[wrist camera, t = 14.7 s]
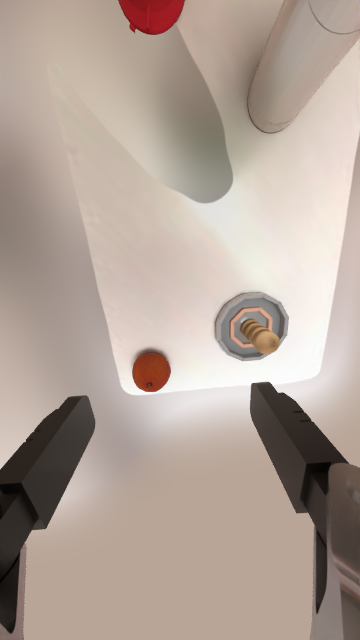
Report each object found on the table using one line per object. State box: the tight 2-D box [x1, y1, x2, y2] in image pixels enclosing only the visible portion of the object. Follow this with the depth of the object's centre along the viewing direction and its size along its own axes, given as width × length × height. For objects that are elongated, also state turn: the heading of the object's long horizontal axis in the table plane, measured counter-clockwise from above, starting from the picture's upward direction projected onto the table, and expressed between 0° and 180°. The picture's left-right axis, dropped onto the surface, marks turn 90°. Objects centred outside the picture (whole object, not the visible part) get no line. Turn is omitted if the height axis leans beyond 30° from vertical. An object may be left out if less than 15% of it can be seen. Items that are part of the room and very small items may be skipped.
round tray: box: [216, 293, 289, 361], centre depth 41 cm, size 16×16×2 cm
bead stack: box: [240, 319, 280, 354], centre depth 38 cm, size 4×4×9 cm
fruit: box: [132, 353, 171, 392], centre depth 41 cm, size 9×9×8 cm
